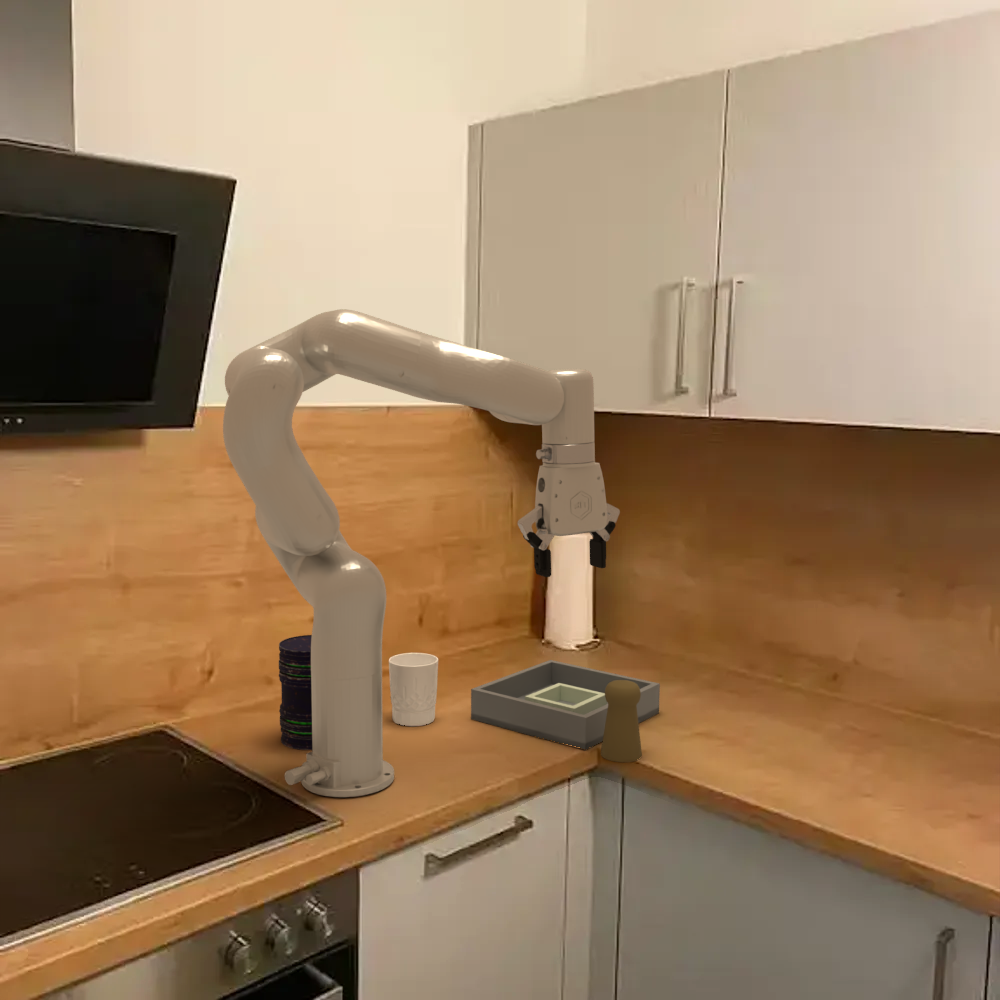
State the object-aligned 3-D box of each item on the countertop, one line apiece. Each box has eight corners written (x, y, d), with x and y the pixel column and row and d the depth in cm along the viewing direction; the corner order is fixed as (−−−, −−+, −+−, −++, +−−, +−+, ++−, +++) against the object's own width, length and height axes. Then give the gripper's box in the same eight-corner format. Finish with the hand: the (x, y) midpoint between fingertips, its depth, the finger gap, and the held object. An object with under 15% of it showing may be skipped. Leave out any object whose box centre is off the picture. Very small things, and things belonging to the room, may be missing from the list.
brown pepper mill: (640, 763, 150) (642, 689, 148) (598, 760, 151) (599, 686, 149) (643, 749, 156) (645, 677, 154) (602, 745, 157) (604, 674, 155)
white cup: (444, 724, 166) (444, 663, 164) (396, 730, 163) (396, 668, 161) (429, 709, 173) (429, 650, 172) (383, 715, 170) (383, 655, 169)
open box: (585, 750, 155) (585, 717, 154) (471, 719, 168) (471, 689, 167) (659, 713, 172) (659, 683, 171) (550, 687, 185) (550, 659, 185)
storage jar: (286, 753, 152) (284, 654, 151) (274, 732, 162) (272, 637, 160) (353, 745, 156) (352, 647, 154) (337, 724, 165) (336, 632, 163)
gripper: (532, 461, 143) (535, 583, 146) (632, 452, 152) (633, 567, 154) (504, 457, 150) (507, 574, 152) (601, 449, 158) (603, 559, 161)
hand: (571, 571), depth 153 cm, fingers open, 9 cm apart
